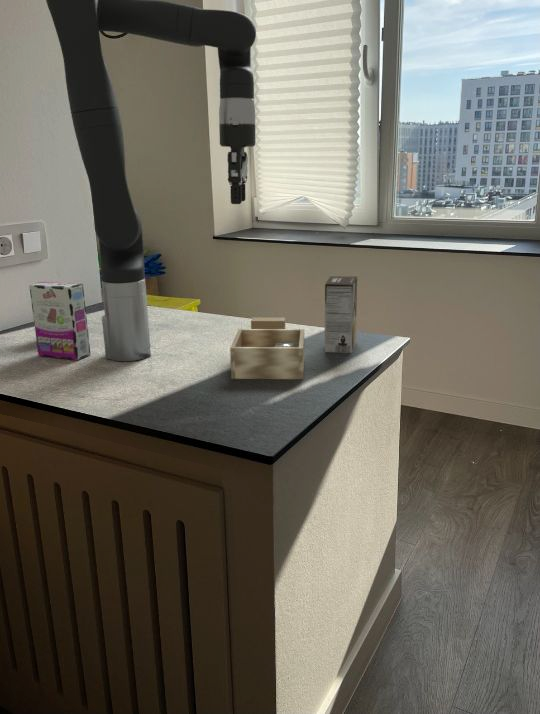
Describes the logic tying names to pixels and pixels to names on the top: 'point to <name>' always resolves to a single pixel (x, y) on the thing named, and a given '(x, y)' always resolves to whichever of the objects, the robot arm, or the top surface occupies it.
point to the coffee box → (340, 314)
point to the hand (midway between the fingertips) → (238, 202)
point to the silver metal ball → (284, 344)
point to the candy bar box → (60, 320)
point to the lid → (268, 323)
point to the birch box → (267, 354)
